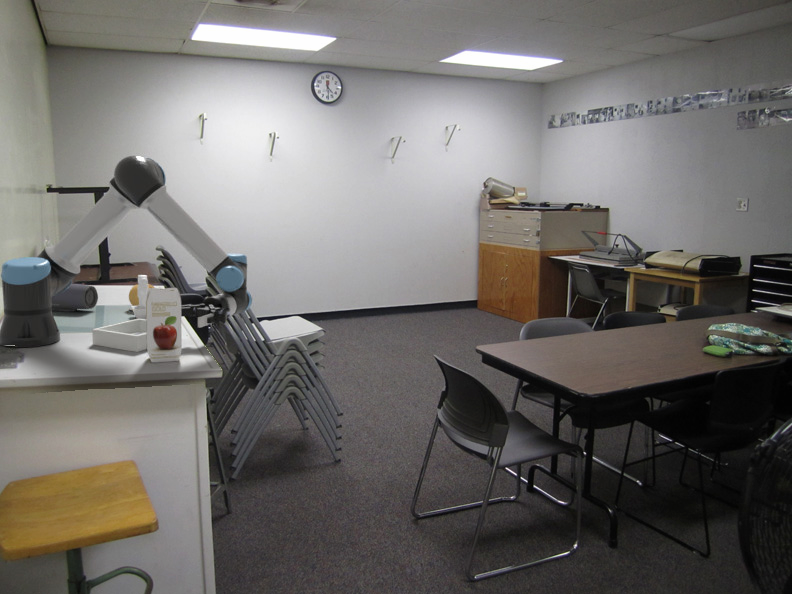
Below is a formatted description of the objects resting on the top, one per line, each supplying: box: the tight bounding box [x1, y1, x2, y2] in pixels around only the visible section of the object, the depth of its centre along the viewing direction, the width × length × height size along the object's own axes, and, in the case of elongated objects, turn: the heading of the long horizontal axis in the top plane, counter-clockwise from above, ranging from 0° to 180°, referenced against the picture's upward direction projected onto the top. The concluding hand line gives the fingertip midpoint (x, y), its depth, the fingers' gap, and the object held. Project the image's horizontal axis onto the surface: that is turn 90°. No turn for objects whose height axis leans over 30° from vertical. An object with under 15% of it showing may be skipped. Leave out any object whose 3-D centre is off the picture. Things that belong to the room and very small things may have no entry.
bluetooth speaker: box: [51, 282, 99, 312], centre depth 215 cm, size 23×9×10 cm, turn 84°
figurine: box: [130, 274, 149, 319], centre depth 209 cm, size 7×9×15 cm
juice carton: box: [146, 287, 183, 363], centre depth 159 cm, size 8×9×19 cm
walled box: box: [91, 318, 147, 353], centre depth 177 cm, size 18×16×4 cm
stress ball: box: [128, 283, 156, 306], centre depth 223 cm, size 10×10×10 cm
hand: (176, 320), depth 163 cm, fingers open, 13 cm apart
